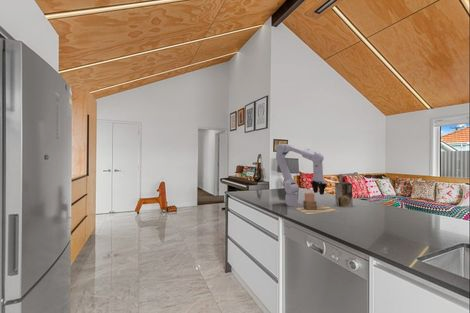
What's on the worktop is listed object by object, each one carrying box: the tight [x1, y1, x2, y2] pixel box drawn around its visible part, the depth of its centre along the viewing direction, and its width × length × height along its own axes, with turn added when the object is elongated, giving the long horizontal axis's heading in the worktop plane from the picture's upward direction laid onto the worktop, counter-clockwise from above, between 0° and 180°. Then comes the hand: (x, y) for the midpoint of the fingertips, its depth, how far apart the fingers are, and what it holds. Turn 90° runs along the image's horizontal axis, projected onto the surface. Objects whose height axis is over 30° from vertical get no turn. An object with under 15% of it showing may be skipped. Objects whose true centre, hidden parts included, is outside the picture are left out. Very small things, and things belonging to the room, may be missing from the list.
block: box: [304, 192, 316, 202], centre depth 156 cm, size 4×4×5 cm
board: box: [293, 205, 340, 215], centre depth 155 cm, size 18×22×1 cm
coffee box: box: [334, 182, 353, 208], centre depth 162 cm, size 9×6×16 cm
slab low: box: [303, 204, 318, 210], centre depth 156 cm, size 6×6×2 cm
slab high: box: [302, 199, 317, 206], centre depth 156 cm, size 6×6×2 cm
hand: (318, 193), depth 157 cm, fingers open, 7 cm apart
